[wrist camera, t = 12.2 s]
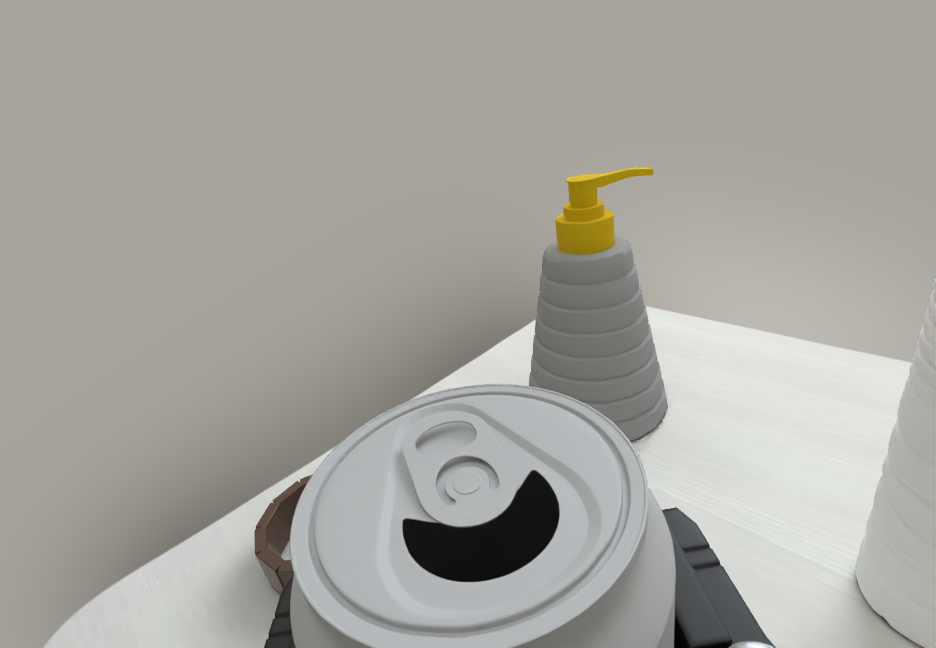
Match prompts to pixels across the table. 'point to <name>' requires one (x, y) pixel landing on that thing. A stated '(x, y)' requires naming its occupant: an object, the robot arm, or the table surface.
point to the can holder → (277, 535)
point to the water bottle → (907, 506)
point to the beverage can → (482, 531)
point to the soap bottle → (596, 315)
